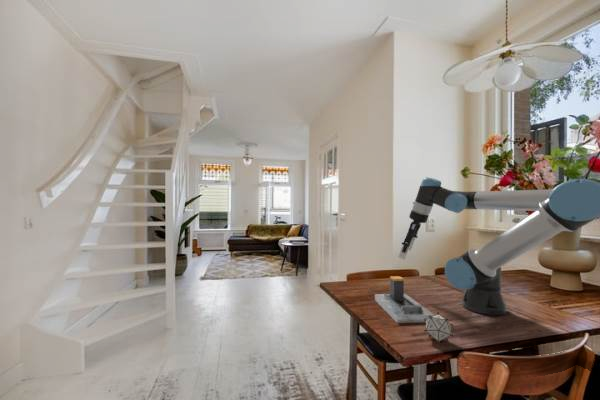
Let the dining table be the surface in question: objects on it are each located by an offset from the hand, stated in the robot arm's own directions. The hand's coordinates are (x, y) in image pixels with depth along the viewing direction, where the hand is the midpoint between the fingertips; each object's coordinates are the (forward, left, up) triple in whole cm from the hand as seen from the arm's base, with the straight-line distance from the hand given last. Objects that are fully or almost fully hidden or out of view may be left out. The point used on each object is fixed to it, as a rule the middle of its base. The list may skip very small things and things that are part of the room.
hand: (404, 253), depth 131 cm
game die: (-33, +29, -20) cm, 48 cm away
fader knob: (-7, +15, -17) cm, 23 cm away
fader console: (-11, +17, -19) cm, 28 cm away
